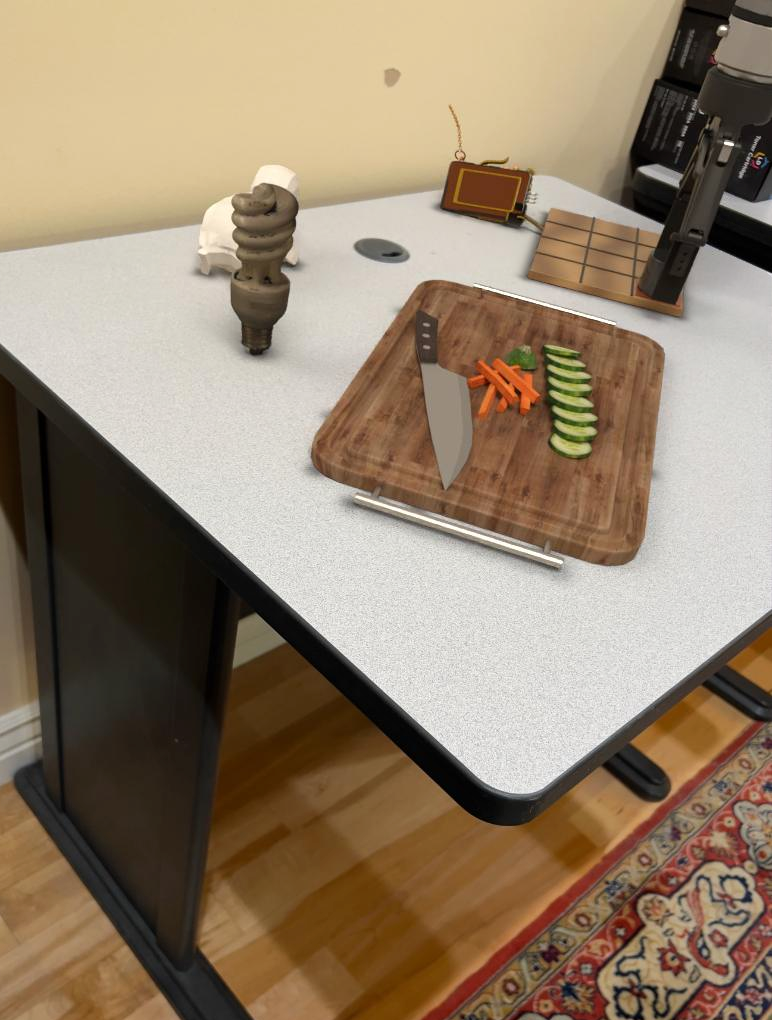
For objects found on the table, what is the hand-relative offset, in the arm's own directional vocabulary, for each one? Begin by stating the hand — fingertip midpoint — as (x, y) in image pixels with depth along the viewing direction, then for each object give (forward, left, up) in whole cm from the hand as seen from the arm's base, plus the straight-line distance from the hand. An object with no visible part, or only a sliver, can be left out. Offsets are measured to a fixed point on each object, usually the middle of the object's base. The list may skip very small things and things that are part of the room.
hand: (663, 278), depth 103 cm
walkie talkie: (+20, -14, -3) cm, 25 cm away
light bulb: (+37, +37, -3) cm, 52 cm away
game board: (+6, -9, -3) cm, 11 cm away
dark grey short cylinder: (0, 0, -1) cm, 2 cm away
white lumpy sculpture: (+44, +18, -3) cm, 48 cm away
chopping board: (+13, +33, -3) cm, 36 cm away
